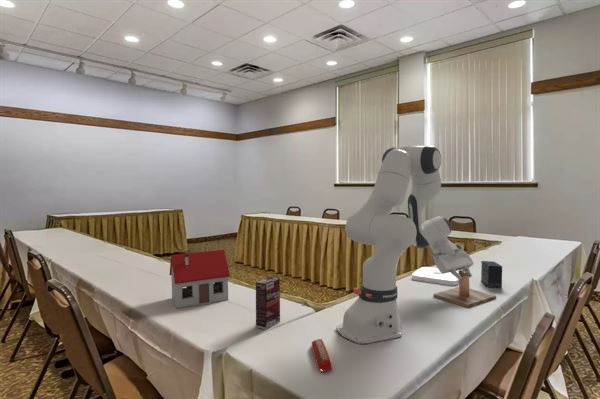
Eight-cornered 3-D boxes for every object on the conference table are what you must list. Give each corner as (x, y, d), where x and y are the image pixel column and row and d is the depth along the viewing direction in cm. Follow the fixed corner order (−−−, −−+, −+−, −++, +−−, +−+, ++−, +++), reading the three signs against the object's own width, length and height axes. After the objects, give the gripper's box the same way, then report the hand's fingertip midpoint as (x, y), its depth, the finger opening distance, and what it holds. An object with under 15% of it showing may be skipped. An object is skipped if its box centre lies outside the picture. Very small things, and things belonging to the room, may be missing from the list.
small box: (503, 288, 158) (503, 266, 157) (487, 287, 159) (487, 265, 159) (494, 282, 168) (495, 261, 168) (480, 281, 169) (480, 260, 169)
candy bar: (310, 346, 104) (310, 336, 104) (322, 345, 104) (322, 336, 104) (319, 375, 88) (319, 364, 88) (333, 374, 88) (333, 363, 88)
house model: (226, 290, 162) (225, 246, 161) (231, 303, 143) (230, 253, 142) (170, 296, 154) (169, 250, 154) (167, 310, 135) (166, 258, 135)
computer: (422, 271, 192) (422, 266, 192) (465, 276, 180) (465, 271, 180) (410, 280, 175) (410, 274, 175) (456, 287, 162) (456, 281, 162)
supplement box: (266, 330, 115) (265, 284, 114) (255, 327, 118) (254, 282, 117) (281, 321, 122) (280, 278, 122) (270, 319, 125) (269, 276, 124)
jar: (466, 296, 142) (465, 273, 142) (456, 294, 146) (456, 271, 146) (471, 294, 145) (471, 271, 144) (462, 292, 148) (462, 269, 148)
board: (468, 307, 133) (468, 304, 133) (433, 296, 147) (433, 294, 147) (496, 298, 144) (496, 295, 144) (461, 288, 157) (461, 286, 157)
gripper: (435, 250, 145) (455, 277, 137) (463, 245, 156) (484, 270, 148) (426, 258, 149) (445, 286, 141) (454, 253, 160) (474, 278, 152)
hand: (465, 278), depth 145 cm, fingers open, 5 cm apart
